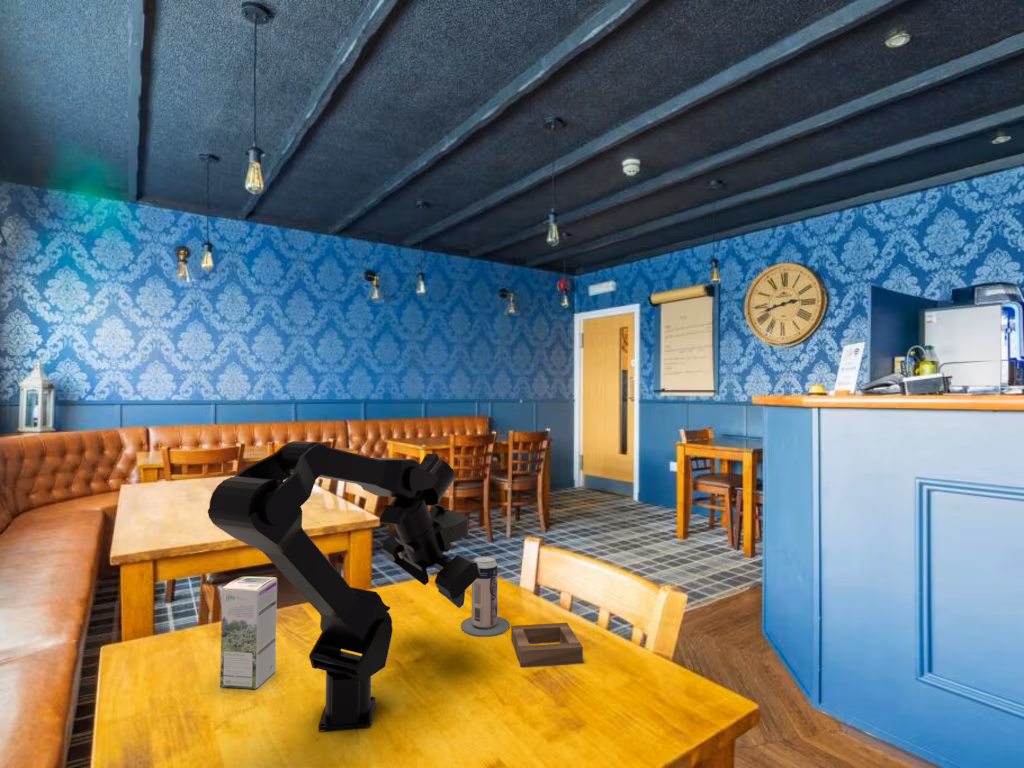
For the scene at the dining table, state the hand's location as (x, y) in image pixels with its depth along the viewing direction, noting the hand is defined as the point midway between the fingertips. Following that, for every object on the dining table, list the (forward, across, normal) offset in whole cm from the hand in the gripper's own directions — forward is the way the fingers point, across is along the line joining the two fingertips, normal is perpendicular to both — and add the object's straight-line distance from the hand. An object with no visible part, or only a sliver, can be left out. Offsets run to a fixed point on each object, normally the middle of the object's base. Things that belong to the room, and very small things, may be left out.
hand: (443, 594), depth 94 cm
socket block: (+11, -15, -6) cm, 20 cm away
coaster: (+13, -1, -5) cm, 14 cm away
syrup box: (-4, +11, +29) cm, 31 cm away
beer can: (+13, -1, -5) cm, 14 cm away
